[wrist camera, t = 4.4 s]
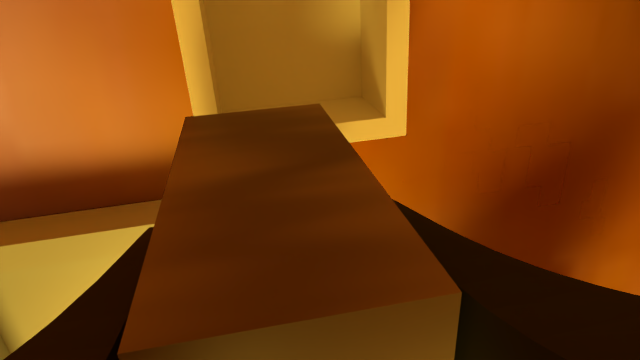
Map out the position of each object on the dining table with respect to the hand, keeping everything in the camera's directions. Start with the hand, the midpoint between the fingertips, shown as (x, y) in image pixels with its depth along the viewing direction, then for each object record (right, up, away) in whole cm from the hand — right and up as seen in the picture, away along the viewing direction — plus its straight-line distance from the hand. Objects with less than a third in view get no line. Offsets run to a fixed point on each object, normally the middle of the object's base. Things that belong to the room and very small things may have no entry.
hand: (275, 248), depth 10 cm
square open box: (0, +8, +8) cm, 11 cm away
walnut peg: (-1, +2, +4) cm, 4 cm away
